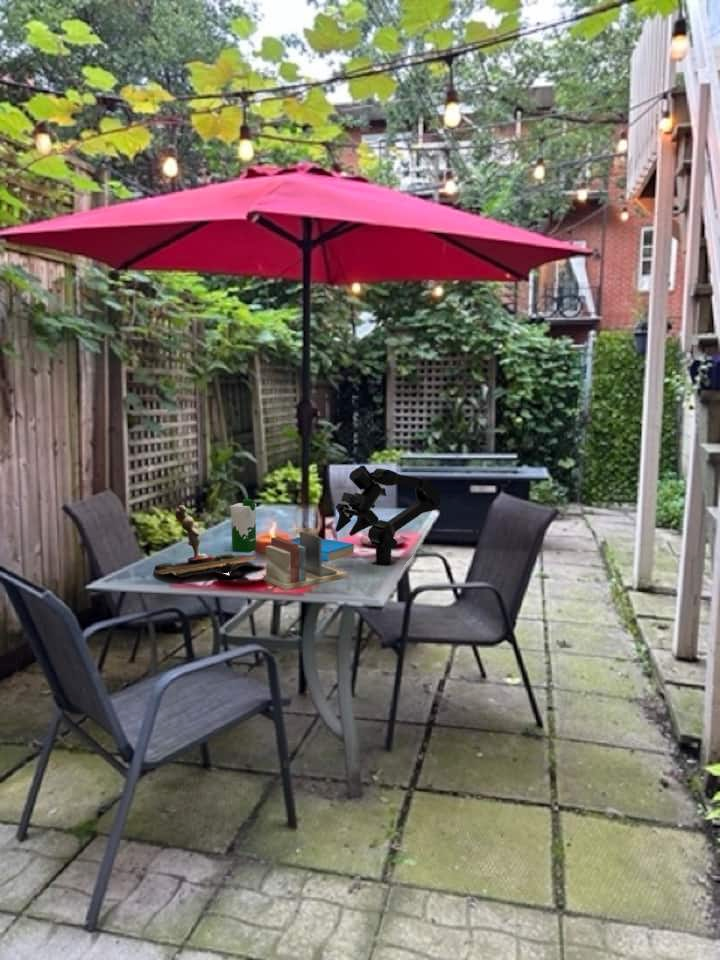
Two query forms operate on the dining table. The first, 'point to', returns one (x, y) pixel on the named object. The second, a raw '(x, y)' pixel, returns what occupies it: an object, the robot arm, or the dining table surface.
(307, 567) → the bookend
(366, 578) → the dining table surface
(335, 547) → the book
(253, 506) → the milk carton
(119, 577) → the dining table surface
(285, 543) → the book shelf
